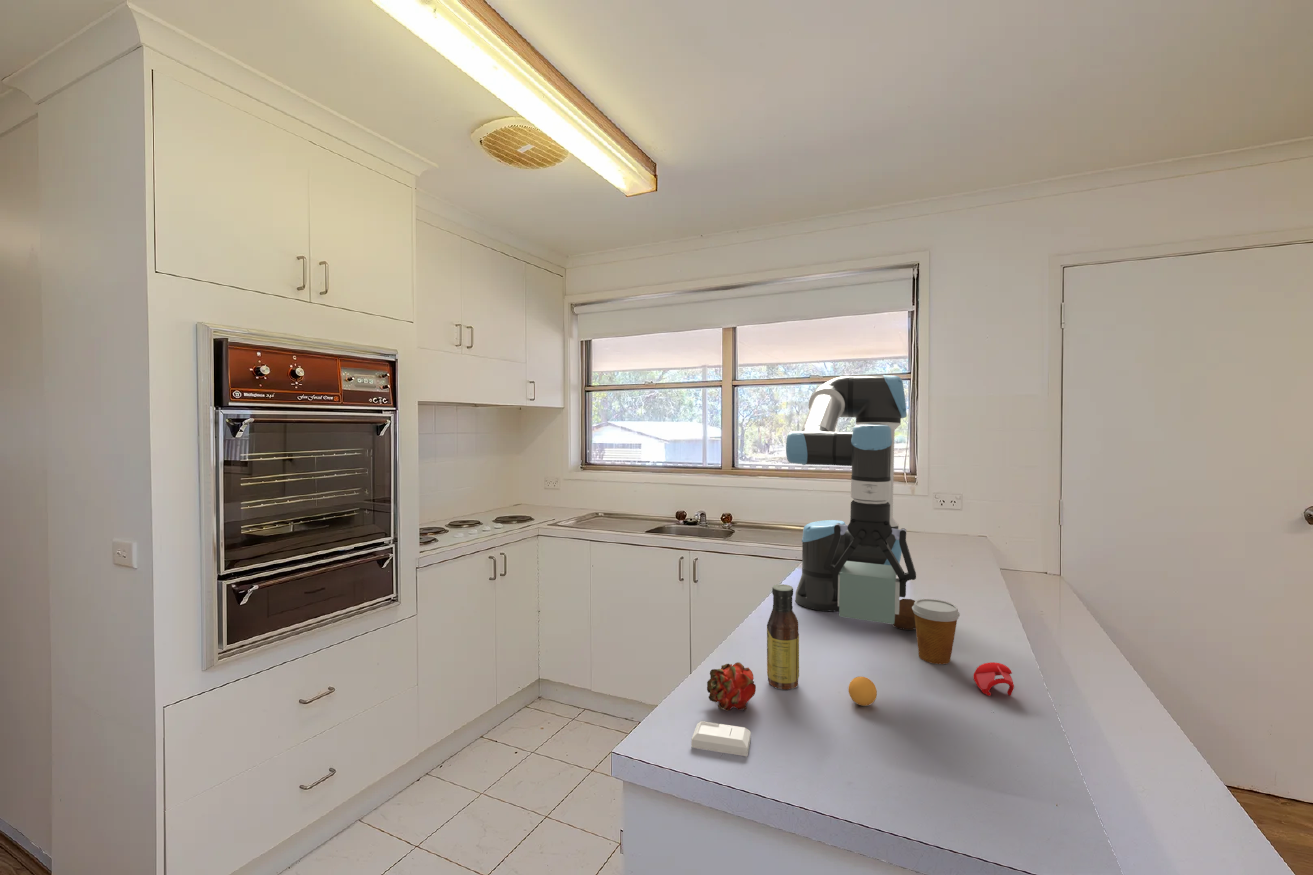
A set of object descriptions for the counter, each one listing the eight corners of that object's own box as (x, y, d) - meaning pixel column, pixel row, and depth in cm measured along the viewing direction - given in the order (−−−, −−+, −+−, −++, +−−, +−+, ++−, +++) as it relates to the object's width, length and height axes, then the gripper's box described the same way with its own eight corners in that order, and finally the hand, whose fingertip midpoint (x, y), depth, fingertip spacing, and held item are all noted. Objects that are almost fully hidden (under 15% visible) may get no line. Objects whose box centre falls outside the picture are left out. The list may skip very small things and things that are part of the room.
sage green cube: (844, 600, 124) (845, 560, 124) (895, 607, 120) (896, 566, 119) (839, 616, 115) (839, 573, 114) (894, 624, 111) (895, 579, 110)
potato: (924, 627, 145) (925, 596, 145) (918, 640, 137) (919, 607, 137) (893, 621, 149) (894, 591, 149) (886, 633, 141) (886, 602, 141)
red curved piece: (1028, 685, 108) (1013, 657, 113) (1002, 677, 107) (987, 649, 112) (999, 707, 112) (985, 679, 117) (973, 699, 111) (961, 671, 116)
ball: (846, 695, 104) (848, 707, 108) (876, 700, 103) (876, 712, 106) (848, 669, 108) (850, 681, 111) (877, 674, 106) (877, 686, 109)
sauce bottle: (778, 674, 119) (779, 579, 118) (805, 684, 115) (806, 586, 114) (759, 684, 114) (761, 586, 114) (786, 695, 110) (788, 593, 109)
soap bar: (747, 759, 91) (747, 742, 90) (691, 750, 93) (691, 734, 93) (750, 742, 95) (750, 726, 95) (697, 733, 98) (697, 718, 98)
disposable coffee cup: (964, 669, 121) (966, 613, 121) (916, 665, 123) (917, 610, 123) (951, 651, 131) (952, 599, 130) (906, 647, 133) (907, 596, 132)
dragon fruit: (709, 727, 102) (741, 709, 111) (746, 710, 98) (776, 693, 107) (689, 679, 105) (722, 666, 115) (724, 661, 101) (755, 649, 111)
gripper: (809, 499, 117) (808, 606, 119) (933, 507, 108) (930, 623, 109) (815, 494, 124) (813, 595, 125) (932, 501, 115) (929, 610, 116)
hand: (868, 608), depth 117 cm, fingers closed on sage green cube, 10 cm apart
